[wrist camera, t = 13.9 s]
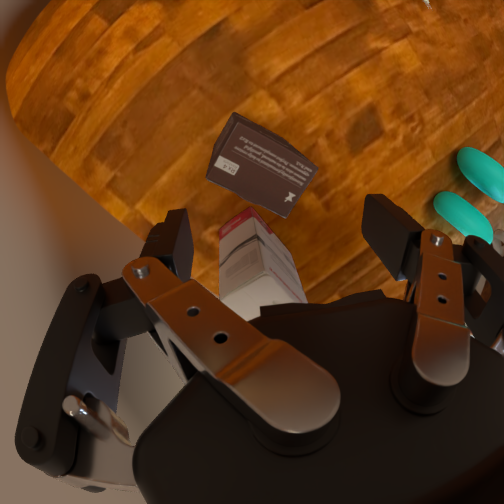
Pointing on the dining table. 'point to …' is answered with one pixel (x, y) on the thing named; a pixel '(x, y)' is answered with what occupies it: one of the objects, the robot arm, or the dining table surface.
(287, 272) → the ink box
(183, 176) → the dining table surface
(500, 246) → the mug
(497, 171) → the turquoise yo-yo
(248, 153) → the box
